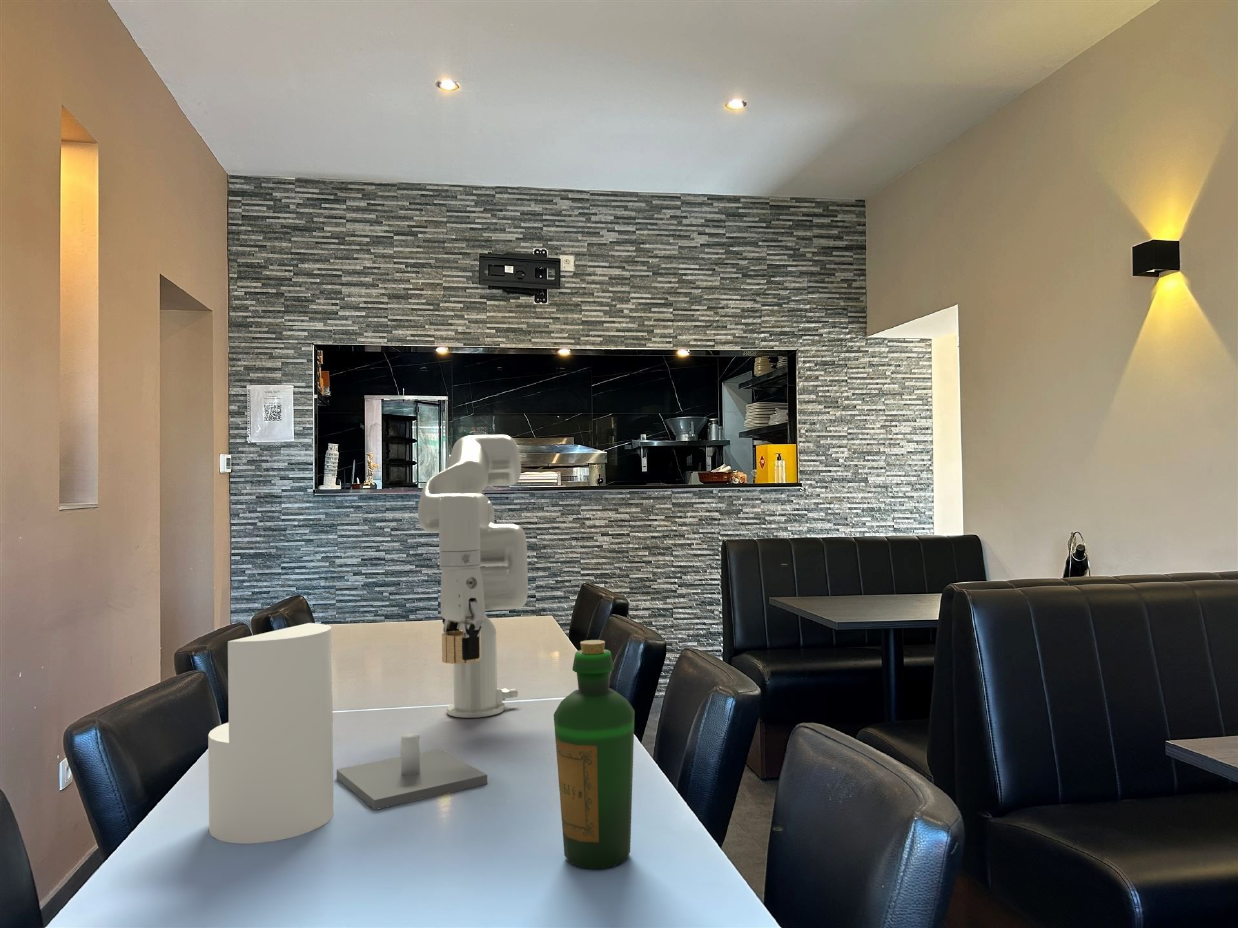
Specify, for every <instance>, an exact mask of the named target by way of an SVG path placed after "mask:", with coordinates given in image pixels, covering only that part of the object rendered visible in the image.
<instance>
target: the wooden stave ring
mask: <svg viewBox="0 0 1238 928" xmlns="http://www.w3.org/2000/svg"><path fill="white" fill-rule="evenodd" d="M462 638H464V634H463V630H459V631H450V632H445V633H444V632H442V633H441V655H442V656H441V658H442V659H441V660H442V663H445V664H455V663H456V664H463V663H472V662H477V661H480V660H481V632H480V637H479V658H478V659H472V660H463V659H462Z"/></svg>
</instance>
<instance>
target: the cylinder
mask: <svg viewBox="0 0 1238 928" xmlns="http://www.w3.org/2000/svg"><path fill="white" fill-rule="evenodd" d="M332 664H333V663H332V626H331V625H329V624H324V623H315V622H314V623H313V622H307V623H304V624H299V625H294V626H290V627H285V628H280V629H276V630H272V631H268V632H264V633H259V634H254V635H250V636H246V637H241V638H236V639H232V640H228V641H227V681H228V682H227V685H228V686H227V687H228V688H227V690H228V692H227V694H228V698H227V699H228V701H227V702H228V703H227V704H228V706H227V707H228V722H226V723H225V722H224V723H223V724H220V725H217V726H216V727H214V728H213V729H212V730H210V731H209V733H208V735H207V737H208V738H207V739H208V741H207V742H208V744H207V745H208V746H207V747H208V749H207V751H208V756H207V757H208V828H209V829H208V832H209V834H210V836H211V837H212V838H214V839H216V840H218V841H221V842H226V843H230V844H231V843H232V844H244V845H245V844H263V843H270V842H277V841H282V840H286V839H290V838H294V837H295V838H296V837H297V836H301V835H304V834H307V833H311V832H312V831H315V830H316V829H318V828H320V827H323V826H324V825H325V824H327V823H328V822H330V820H331V819H332V818H333V816H334V813H335V812H334V811H335V810H334V805H335V804H334V754H333V753H334V747H333V745H334V743H333V742H334V741H333V737H334V736H333V735H334V734H333V733H334V732H333V727H332V717H333V681H332V680H333V677H332V675H333V673H332V672H333V670H332V669H333V668H332V667H333V666H332Z"/></svg>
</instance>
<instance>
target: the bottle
mask: <svg viewBox="0 0 1238 928" xmlns="http://www.w3.org/2000/svg"><path fill="white" fill-rule="evenodd" d="M579 644H580V648H581V649H580V650H577V651H575V653H574V657H573V658H574V659H573V662H572V663H573V664H572V671H573V672H574V673H576V678H577V687H578V689H574V691H572V692H571V693H570V694H568V695H567V696H566V697H564V698H563V699H562V700H561V701H560V703H559V704H558V706H557V708H556V710H555V711H554V713H553V722H554V724H553V725H554V738H555V750H556V751H555V752H556V762H557V774H558V775H557V776H558V789H559V801H560V815H561V826H562V841H563V843H562V844H563V852H564V853H563V855H564V857H565V858H566V860H567V862H569V863H570V864H573V865H575V866H577V867H581V868H584V869H596V870H600V869H607V868H611V867H614V866H617V865H618V864H620V863H622V862H624V861H625V860H627V859H628V858H629V856H630V853H631V842H632V841H631V838H632V836H631V834H632V808H633V807H632V805H633V804H632V802H633V775H634V774H633V773H634V768H633V767H634V744H635V743H634V741H635V714H636V711H635V709H634V708H633V706H632V704H631V703H630V702H629V700H628V699H627V698H626V697H624V696H623V695H622V694H620V693H619V692H617V691H615V690H614V689H612V688H610V676H611V675H610V674H611V672H612V671H613V670H614V669H615V667H614V666H615V665H614V661H613V658H612V653H611V651H610V650H608V649H605V645H606V641H605V640H600V639H590V640H589V639H588V640H583V641H582V640H581V641H580V642H579Z"/></svg>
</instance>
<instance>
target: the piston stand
mask: <svg viewBox="0 0 1238 928" xmlns="http://www.w3.org/2000/svg"><path fill="white" fill-rule="evenodd" d="M336 779H337V780H339V781H340V783H342V784H343V785H344V786H345V787H346V788H347V789H349V790H350V791H351V790H352V791H351V792H352V793H354V794H355V795H356V796H357V798H358V797H359V798H360V799H361V801H363V802H364V801H365V802H364V803H366V804H367V805H368V807H370V806H371V807H372V808H371V807H370V808H371V809H373V808H374V809H373V810H374V811H376V810H375V809H377V810H379V809H378V808H381V809H384V807H386V808H388V807H387V806H390V807H393V805H394V806H397V805H398V804H399V805H402V804H401V803H403V804H407V803H410V802H411V801H412V802H415V801H419V800H424V799H428V798H431V797H436V796H442V795H446V794H449V793H455V792H458V791H462V790H467V789H471V788H475V787H481V786H485V785H488V774H486V773H485V772H484V771H481V770H480V769H478V768H476V767H474V766H472V765H471V764H470V763H468V762H466V761H464V760H462V759H460V758H458V757H456V756H455V755H453V754H452V753H450V752H448V751H446V750H445V749H443V748H437V749H432V750H427V751H422V752H420V734H419V733H406V734H403V735H401V736H400V756H397V757H391V758H387V759H382V760H377V761H372V762H367V763H361V764H357V765H352V766H347V767H342V768H337V769H336ZM412 802H411V803H412Z"/></svg>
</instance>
